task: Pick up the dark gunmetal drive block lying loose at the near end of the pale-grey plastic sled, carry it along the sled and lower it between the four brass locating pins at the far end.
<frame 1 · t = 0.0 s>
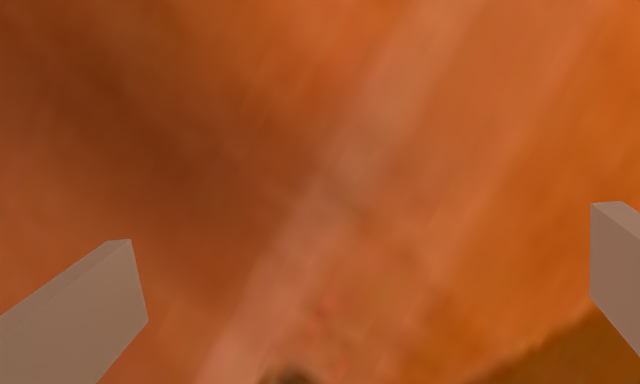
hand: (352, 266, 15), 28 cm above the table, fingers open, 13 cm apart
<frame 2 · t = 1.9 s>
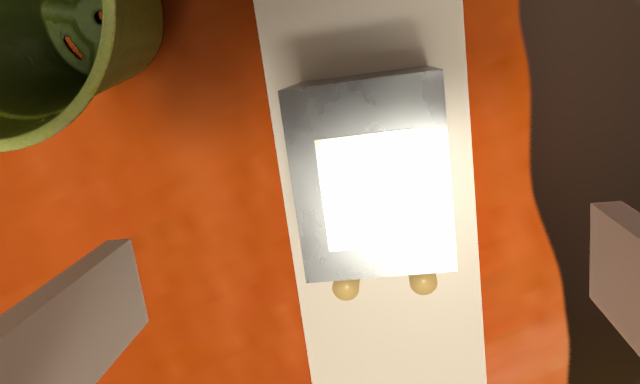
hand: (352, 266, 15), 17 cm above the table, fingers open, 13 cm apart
drive: (372, 154, 30), point 1 cm above the table, touching tray
tray: (381, 230, 32), on the table
plant pot: (110, 17, 31), on the table
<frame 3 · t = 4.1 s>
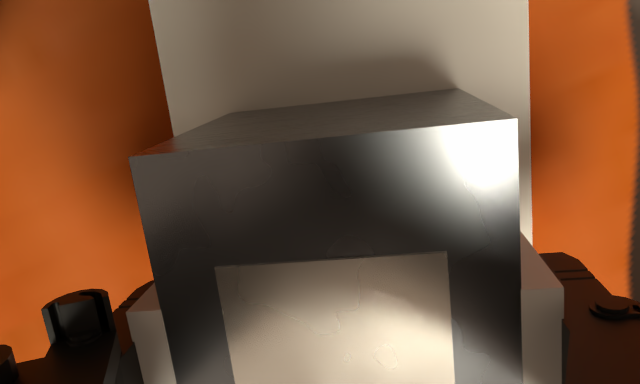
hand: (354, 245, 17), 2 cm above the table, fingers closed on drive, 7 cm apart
drive: (355, 239, 17), point 1 cm above the table, touching gripper, tray
tray: (370, 356, 19), on the table
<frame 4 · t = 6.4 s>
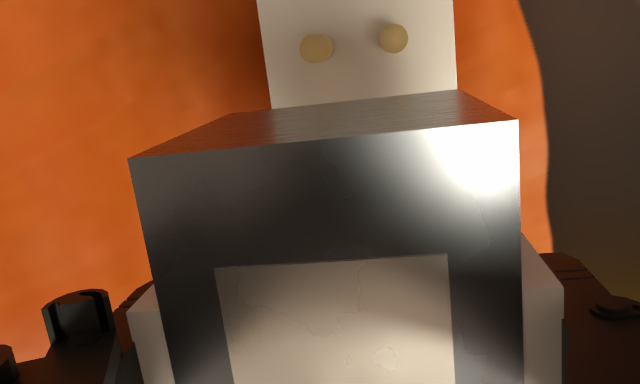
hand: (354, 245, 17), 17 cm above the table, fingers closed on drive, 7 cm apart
drive: (355, 240, 17), point 17 cm above the table, touching gripper
tray: (355, 24, 31), on the table
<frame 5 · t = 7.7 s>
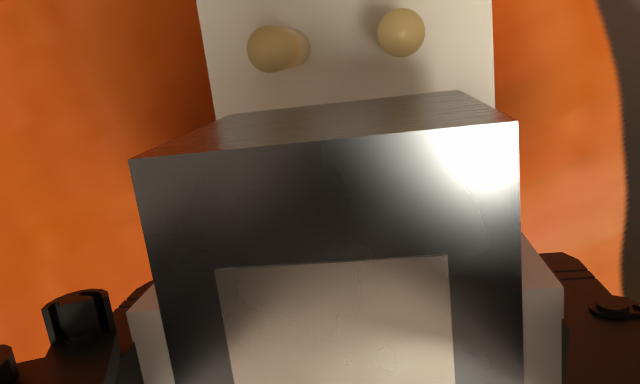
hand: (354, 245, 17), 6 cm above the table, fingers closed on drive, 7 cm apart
drive: (355, 240, 17), point 6 cm above the table, touching gripper
tray: (342, 13, 21), on the table
when the fingers open (3 cm above the table, at t = 8.7 s): drive drops 1 cm, resting on tray.
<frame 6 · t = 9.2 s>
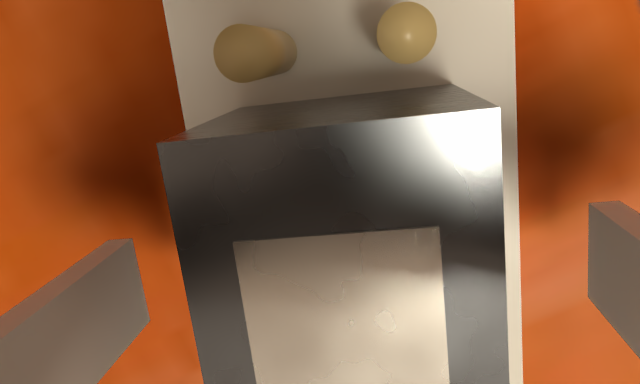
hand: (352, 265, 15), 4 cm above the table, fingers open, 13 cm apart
drive: (357, 225, 18), point 1 cm above the table, touching tray
tray: (335, 11, 18), on the table
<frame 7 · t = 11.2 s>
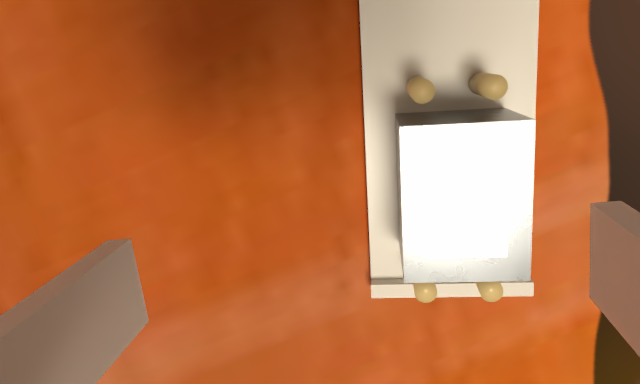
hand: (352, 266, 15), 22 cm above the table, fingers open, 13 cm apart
drive: (449, 177, 36), point 1 cm above the table, touching tray
tray: (446, 67, 35), on the table
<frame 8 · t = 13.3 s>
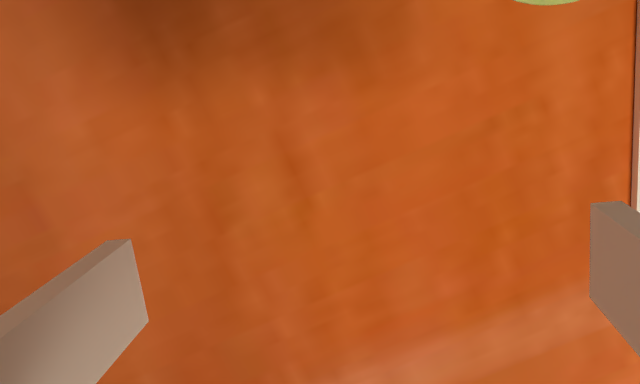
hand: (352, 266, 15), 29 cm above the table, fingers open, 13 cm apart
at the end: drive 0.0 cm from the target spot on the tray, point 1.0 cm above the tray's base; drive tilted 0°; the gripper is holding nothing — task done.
